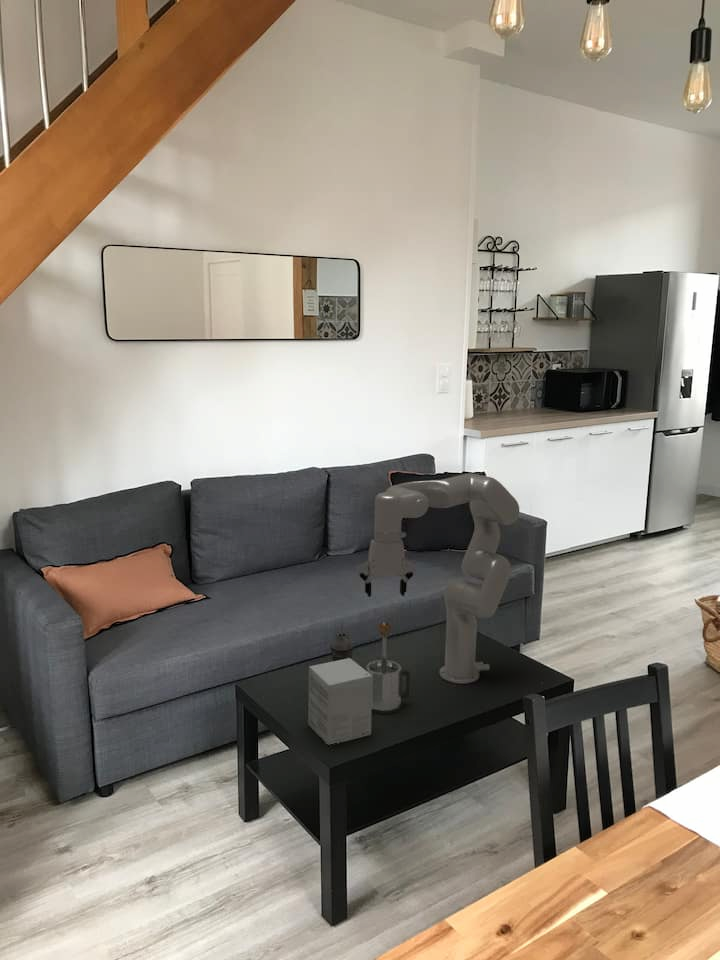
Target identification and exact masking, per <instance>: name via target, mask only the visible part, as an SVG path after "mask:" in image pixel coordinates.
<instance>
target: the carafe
mask: <svg viewBox="0 0 720 960" xmlns="http://www.w3.org/2000/svg"><path fill="white" fill-rule="evenodd" d="M377 667H382V659H379V660H374V661H370V662H368V664H367V665H366V666H365V670H366V671H367V672H368V673H369V674H370V675H372V708H371V713H374V714H378V715H391V714H394V713H396V712H398V711H400V709H401V707H402V706H401V705H402V703H401V701H402V699H405V698H406V699H407V698H410V683H411V681H410V680H411V678H410V677H411V673H410V670H409V669H402V667H401V664H400V663H397V662H396V661H393V660H387V659H386V667H389V668H392V669H394V670H396V672H393V673H390V674H381V673H375V672H373V671H372V669H374V668H377ZM402 677H403V678H404V682H403V684H404V685H403V691H402Z"/></svg>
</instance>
